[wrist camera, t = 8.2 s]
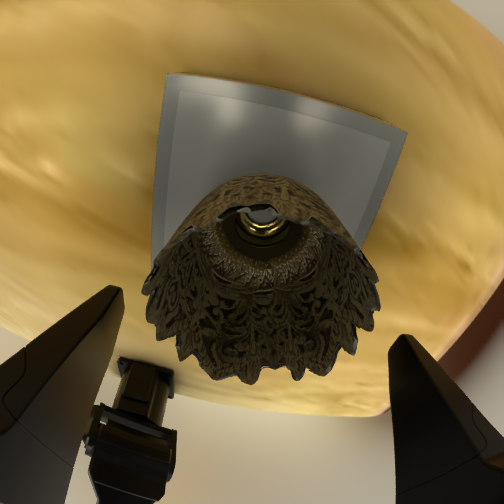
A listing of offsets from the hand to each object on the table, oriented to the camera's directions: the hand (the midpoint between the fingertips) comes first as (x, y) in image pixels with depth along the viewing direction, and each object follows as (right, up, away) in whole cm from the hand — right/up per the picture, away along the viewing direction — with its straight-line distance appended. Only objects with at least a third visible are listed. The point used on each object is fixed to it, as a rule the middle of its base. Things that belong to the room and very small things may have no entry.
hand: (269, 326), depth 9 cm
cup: (0, +5, +7) cm, 8 cm away
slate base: (0, +6, +9) cm, 11 cm away
